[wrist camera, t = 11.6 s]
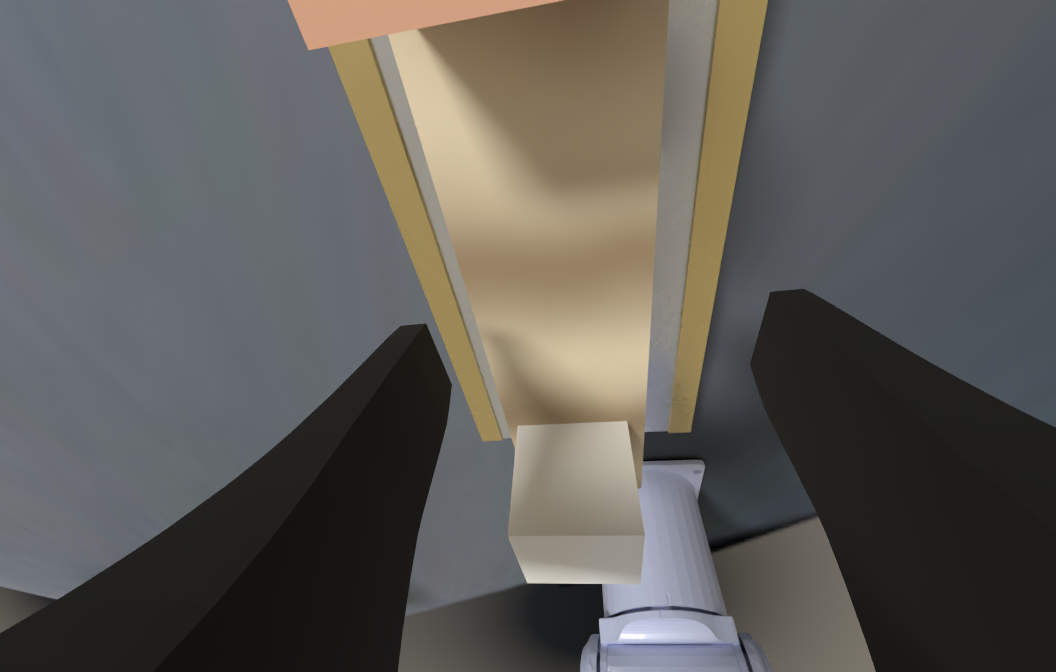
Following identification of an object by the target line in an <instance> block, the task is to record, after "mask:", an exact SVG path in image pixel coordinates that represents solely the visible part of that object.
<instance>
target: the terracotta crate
mask: <svg viewBox="0 0 1056 672" xmlns="http://www.w3.org/2000/svg"><path fill="white" fill-rule="evenodd" d="M558 1H563V0H288V2H289V5H290V7H291V9H292V12H293V14H294V17H295V19H296V21H297V24H298V26H299V29H300V31H301V33H302V36H303V38H304V40H305V43H306V45H307V48H308V50H312V49H317V48H322V47H328V46H333V45H338V44H343V43H348V42H353V41H358V40H363V39H369V38H374V37H379V36H384V35H389V34H394V33H399V32H404V31H410V30H415V29H420V28H425V27H430V26H435V25H440V24H445V23H451V22H456V21H461V20H466V19H471V18H476V17H481V16H486V15H492V14H497V13H502V12H507V11H512V10H517V9H522V8H527V7H533V6H538V5H543V4H548V3H553V2H558Z"/></svg>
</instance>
